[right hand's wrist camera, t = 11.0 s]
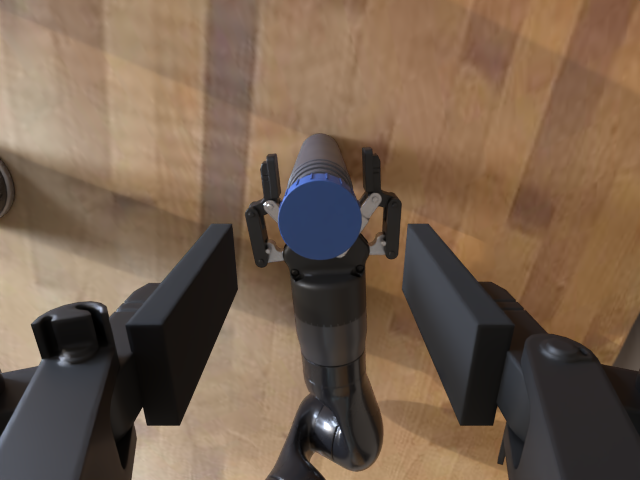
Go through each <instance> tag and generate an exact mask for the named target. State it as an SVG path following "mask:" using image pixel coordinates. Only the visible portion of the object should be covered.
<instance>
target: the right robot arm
mask: <svg viewBox="0 0 640 480" xmlns="http://www.w3.org/2000/svg"><path fill="white" fill-rule="evenodd" d="M237 290H238V285H237V273H236V262H235V251H234V239H233V228H232V224H211V225H210V226H209V228H208V229H207V230H206V231H205V232H204V233H203V235H202V236H201V237H200V238H199V239H198V240H197V242H196V243H195V244H194V245H193V246H192V247H191V249H190V250H189V251H188V252H187V253H186V254H185V256H184V257H183V258H182V259H181V260H180V261H179V263H178V264H177V265H176V266H175V267H174V268H173V270H172V271H171V272H170V273H169V274H168V275H167V277H166V278H165V279H164V280H163V281H162V282H161V283H148V284H147V285H145V286H143V287H141V288H139V289H138V290H136V291H134V292H133V293H132V294H131V295H130V296H129V297H128V298H127V299H126V300H125V303H123V304H122V305H121V306H120V307H119V308H118V309H117V312H114V313H113V314H112V315H111V316H110V317H109V315H108V311H107V307H106V306H105V305H103V304H102V303H98V302H92V301H89V302H77V303H72V304H68V305H63V306H61V307H58V308H55V309H53V310H50V311H48V312H46V313H45V314H43V315H41V316H39V317H38V318H37V319H36V320H35V321H34V322H33V323H32V324H31V326H32V330H33V333H34V336H35V339H36V342H37V345H38V348H39V351H40V354H41V357H42V361H41V362H40V364H39V366H36V367H31V368H26V369H21V370H16V371H11V372H6V373H2V372H1V370H0V480H131V478H132V471H133V463H134V456H135V448H136V441H137V437H136V430H135V426H134V421H135V420H136V418H137V416H138V414H139V413H140V411H141V409H142V407H143V409H144V414H145V419H146V423H147V426H180V424H181V421H182V419H183V417H184V414H185V412H186V410H187V407H188V405H189V403H190V400H191V398H192V396H193V393H194V391H195V389H196V386H197V384H198V382H199V379H200V377H201V375H202V372H203V370H204V368H205V365H206V363H207V361H208V358H209V356H210V354H211V351H212V349H213V347H214V344H215V342H216V340H217V337H218V335H219V332H220V330H221V328H222V325H223V323H224V321H225V318H226V316H227V314H228V311H229V309H230V307H231V304H232V302H233V300H234V297H235V295H236V293H237ZM402 290H403V293H404V295H405V297H406V300H407V302H408V304H409V307H410V309H411V311H412V314H413V316H414V318H415V321H416V323H417V325H418V328H419V330H420V332H421V335H422V337H423V340H424V342H425V344H426V347H427V349H428V351H429V354H430V356H431V358H432V361H433V363H434V365H435V368H436V370H437V372H438V375H439V377H440V379H441V382H442V384H443V386H444V389H445V391H446V393H447V396H448V398H449V400H450V403H451V405H452V407H453V410H454V412H455V414H456V417H457V419H458V421H459V424H460V426H493V423H494V419H495V414H496V409H497V405H498V407H499V409H500V411H501V412H502V414H503V416H504V418H505V419H506V421H507V422H506V426H505V430H504V435H503V439H502V443H501V447H500V452H499V456H498V464H501V465H503V462H504V458H505V456H506V462H507V470H508V477H509V480H640V370H639V371H633V370H628V369H623V368H618V367H613V366H608V365H603V364H600V362H599V360H598V358H597V357H596V356H595V355H594V354H593V352H592V351H591V350H589V349H588V348H586V347H585V346H583V345H582V344H580V343H578V342H576V341H573V340H571V339H569V338H566V337H562V336H558V335H555V334H548V333H547V332H546V331H545V330H544V329H543V328H542V327H541V326H540V325H539V324H538V323H537V322H536V321H535V320H534V319H533V317H532V316H531V315H530V314H529V313H528V312H527V311H526V310H524V308H523V307H522V306H521V305H520V304H519V303H518V302H516V300H515V299H514V298H513V297H512V296H511V295H510V294H509V293H508V292H507V291H506V290H505V289H503V288H501V287H500V286H498V285H496V284H494V283H492V282H478V281H477V280H476V279H475V278H474V277H473V275H472V274H471V273H470V272H469V271H468V270H467V268H466V267H465V266H464V265H463V264H462V263H461V261H460V260H459V259H458V258H457V257H456V256H455V254H454V253H453V252H452V251H451V250H450V249H449V247H448V246H447V245H446V244H445V243H444V242H443V240H442V239H441V238H440V237H439V236H438V235H437V233H436V232H435V231H434V230H433V229H432V228H431V226H430V225H429V224H408V228H407V239H406V251H405V262H404V273H403V285H402Z"/></svg>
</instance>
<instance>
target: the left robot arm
mask: <svg viewBox="0 0 640 480" xmlns="http://www.w3.org/2000/svg"><path fill="white" fill-rule="evenodd" d="M362 163H363V187H364V189H365V192H364V194H363V195H362V197H361V198H360V199H359V203H360V206H361V208H360V210H361V215H362V226H361V230H360V233H359V236H358V238H357V240H356V241H355V243H354V244H353V245H352V246H351V247H350V248H349V249H348V250H347V251H346V252H344V253H343V254H341V255H339V256H337V257H334V258H331V259H326V260H314V259H309V258H306V257H303V256H301V255H299V254H297V253H296V252H294V251H293V250H292V249H291V248H290V247H289V246H288V245H287V244H285V246H284V249H281V248H278V247H277V245H276V243H275V241H273V240H270V239H269V240H268V235H267V230H266V225H265V220H264V215H266V214H269V215H270V216H271V217H272V218H273V219H274V220H275V221H276V222H277V223H278V215H279V206H280V204H281V202H282V200H281V199H280V198H279V196H280V194H281V187H280V178H279V169H278V160H277V154H268V155H267V161H264V162H263V163H262V165H261V169H260V170H261V178H262V186H263V194H264V198H263V199H261V200H259V201H257V202H256V201H255V202H252V203H251V204H250V206H249V208H248V209H247V210H246V212H245V217H246V222H247V226H248V231H249V236H250V240H251V245H252V249H253V254H254V259H255V263H256V265H257V266H258V267H265V266H266V265H267V264H268V263H269V262H277V261H285V262H286V264H287V265H288V267H289V270H290V278H291V287H292V296H293V305H294V313H295V322H296V330H297V336H298V340H299V343H300V347H301V355H302V364H303V373H304V380H305V384H306V386H307V389H308V391H309V392H310V394H309V395H307V396H306V397H305V398H304V399H303V401H302V402H301V404H300V406H299V408H298V410H297V413H296V415H295V418H294V421H293V424H292V426H291V429H290V432H289V434H288V437H287V439H286V441H285V444H284V446H283V448H282V451H281V453H280V455H279V458H278V460H277V462H276V464H275V466H274V468H273V469H272V471H271V472H270V474H269V475H268V477H267V478H266V479H265V480H326V479H325V478H324V477H323V476H322V474H321V473H320V472H319V471H318V470H317V469H316V468H315V467H314V466H313V465H312V464H311V463H310V459H311V457H312V455H313V454H314V453H315V452H317V453H319V454H320V455H322V456H324V457H326V458H327V459H329V460H331V461H333V462H335V463H336V464H338V465H340V466H342V467H343V468H345V469H348V470H351V471H356V472H358V471H363V470H365V469H367V468H369V467H370V466H371V465H372V464H373V463H374V462H375V461H376V460H377V458H378V456H379V454H380V451H381V448H382V444H383V421H382V416H381V413H380V409H379V406H378V403H377V401H376V398H375V395H374V393H373V390H372V387H371V384H370V381H369V379H368V376H367V374H366V354H365V340H366V332H367V313H366V281H365V263H366V260H367V258H368V256H369V255H386V257H387V258H388V259H395V258H396V257H397V256H398V249H399V235H400V220H401V206H402V204H401V201H400V200H399V199H398V197H397V196H396V195H395V194H394V193H392V192H385V191H383V190H381V179H380V159H379V157H378V155H377V154H376V153H373V152H372V149H371V148H370V147H365V148H362ZM13 200H14V185H13V181H12V178H11V175H10V173H9V171H8V169H7V168H6V166H5V165H4V163H3V162H2V161H1V159H0V218H1V217H2V216H4V215H5V214H6V213H7V212H8V211H9V209H10V208H11V206H12V203H13ZM378 206H380V207H384V208H383V228H382V232H379V233H377V234H376V236H375V239H374V241H373V242H371V243H368V242H367V240H366V239H365V238H364V236H363V235H362V234H361V231H362V230H363V229H364V227H365V226H366V224H367V223H368V221H369V218H370V216H371V215H372V214H373V212H374V211H375V210H376V208H377V207H378Z"/></svg>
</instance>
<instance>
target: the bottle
mask: <svg viewBox="0 0 640 480" xmlns="http://www.w3.org/2000/svg"><path fill="white" fill-rule="evenodd" d="M311 173H312V174H326V173H328V174H329V175H332V176H335V177H337V178H339V179H340V178H342V180H343V181H344V182H345V183H346V184H347V185H348V186H349V187H350V188H351V187H352V189H353V186H352V182H351V179H350V176H349V173H348V171H347V168H346V165H345V163H344V160H343V157H342V155H341V152H340V149H339V147H338V144H337V143H336V141H335V140H334V139H333V138H332V137H330V136H328V135H326V134H314V135H312V136H310V137H308V138H307V139H306V140H305V141H304V143H303V144H302V147H301V149H300V152H299V155H298V157H297V160H296V163H295V165H294V168H293V171H292V173H291V176H290V179H289V182H288V185H287V189H289V188H290V187H291V186H292V185H293V184H294V183H295V182H296V181H297V179H301V178H303V177H305V176H308V175H311Z"/></svg>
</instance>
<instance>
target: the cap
mask: <svg viewBox="0 0 640 480" xmlns="http://www.w3.org/2000/svg"><path fill="white" fill-rule="evenodd" d="M360 208H361V206H360V203H359V201H358V200H357V199H356V196H355V194H354V192H353V189H352V187H351V188H350V187H349V186H348V185H347V184H346V183H345V182H344V181H343V180H342V178H340V179H339V178H337V177H335V176H332V175H329V174H328V173H326V174H312V173H311V175H308V176H305V177H303V178H301V179H297V181H296V182H295V183H294V184H293V185H292V186H291V187H290V188H289V189H287V190H286V193H285V196H284V198H283V201H282V202H281V204H280V206H279V215H278V225H279V230H280V233H281V236H282V238H283V240H284V241H285V243H286V244H287V245H288V246H289V247H290V248H291V249H292V250H293V251H294V252H296V253H297V254H299V255H301V256H303V257H306V258H309V259H314V260H326V259H331V258H334V257H337V256H339V255H341V254H343V253H344V252H346V251H347V250H348V249H349V248H350V247H351V246H352V245H353V244H354V243H355V241H356V240H357V238H358V236H359V233H360V230H361V226H362V215H361V210H360Z"/></svg>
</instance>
